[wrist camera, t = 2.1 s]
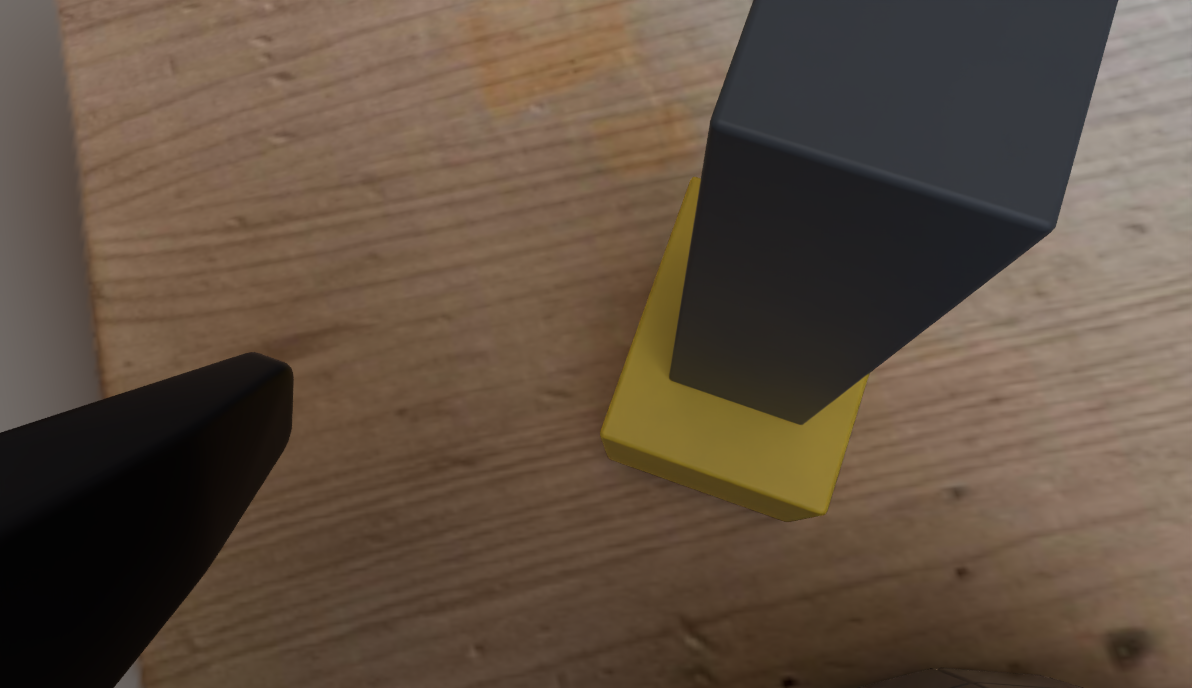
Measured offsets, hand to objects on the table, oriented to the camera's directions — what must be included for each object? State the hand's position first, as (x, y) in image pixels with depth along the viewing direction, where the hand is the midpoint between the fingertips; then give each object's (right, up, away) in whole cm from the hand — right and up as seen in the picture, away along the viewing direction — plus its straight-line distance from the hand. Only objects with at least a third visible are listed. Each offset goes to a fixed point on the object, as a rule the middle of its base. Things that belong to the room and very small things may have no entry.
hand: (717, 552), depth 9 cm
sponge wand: (+2, +1, +11) cm, 11 cm away
